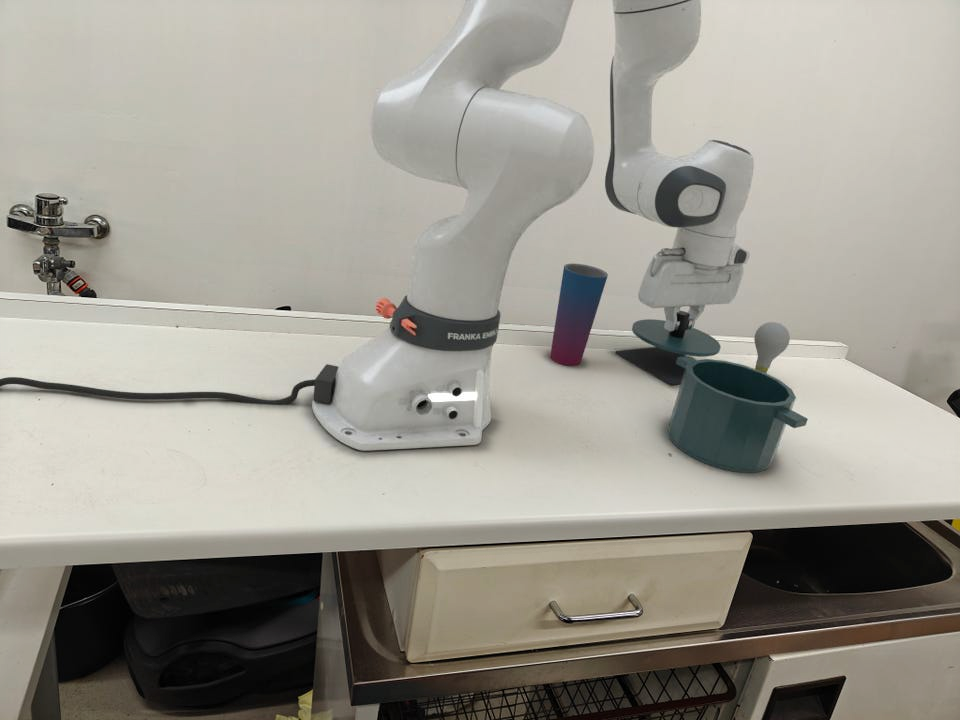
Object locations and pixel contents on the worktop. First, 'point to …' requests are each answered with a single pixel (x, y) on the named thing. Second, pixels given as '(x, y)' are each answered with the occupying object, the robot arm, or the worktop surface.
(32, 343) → the worktop surface
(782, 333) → the light bulb
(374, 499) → the worktop surface
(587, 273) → the cup
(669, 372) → the plate
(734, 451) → the pot
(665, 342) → the lid
